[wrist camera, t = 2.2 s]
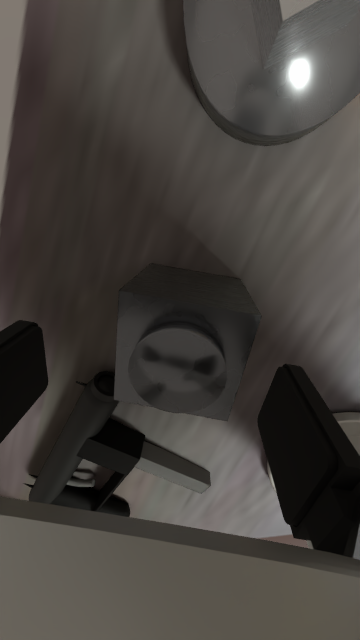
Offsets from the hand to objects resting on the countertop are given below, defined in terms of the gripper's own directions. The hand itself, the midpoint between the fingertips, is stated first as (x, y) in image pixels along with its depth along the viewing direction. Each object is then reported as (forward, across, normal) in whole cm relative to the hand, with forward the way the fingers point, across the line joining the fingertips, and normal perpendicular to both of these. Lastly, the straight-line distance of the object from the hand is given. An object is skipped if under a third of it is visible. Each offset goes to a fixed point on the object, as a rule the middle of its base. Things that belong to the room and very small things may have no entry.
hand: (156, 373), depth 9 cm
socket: (+8, -1, +1) cm, 8 cm away
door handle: (+9, +3, +19) cm, 21 cm away
